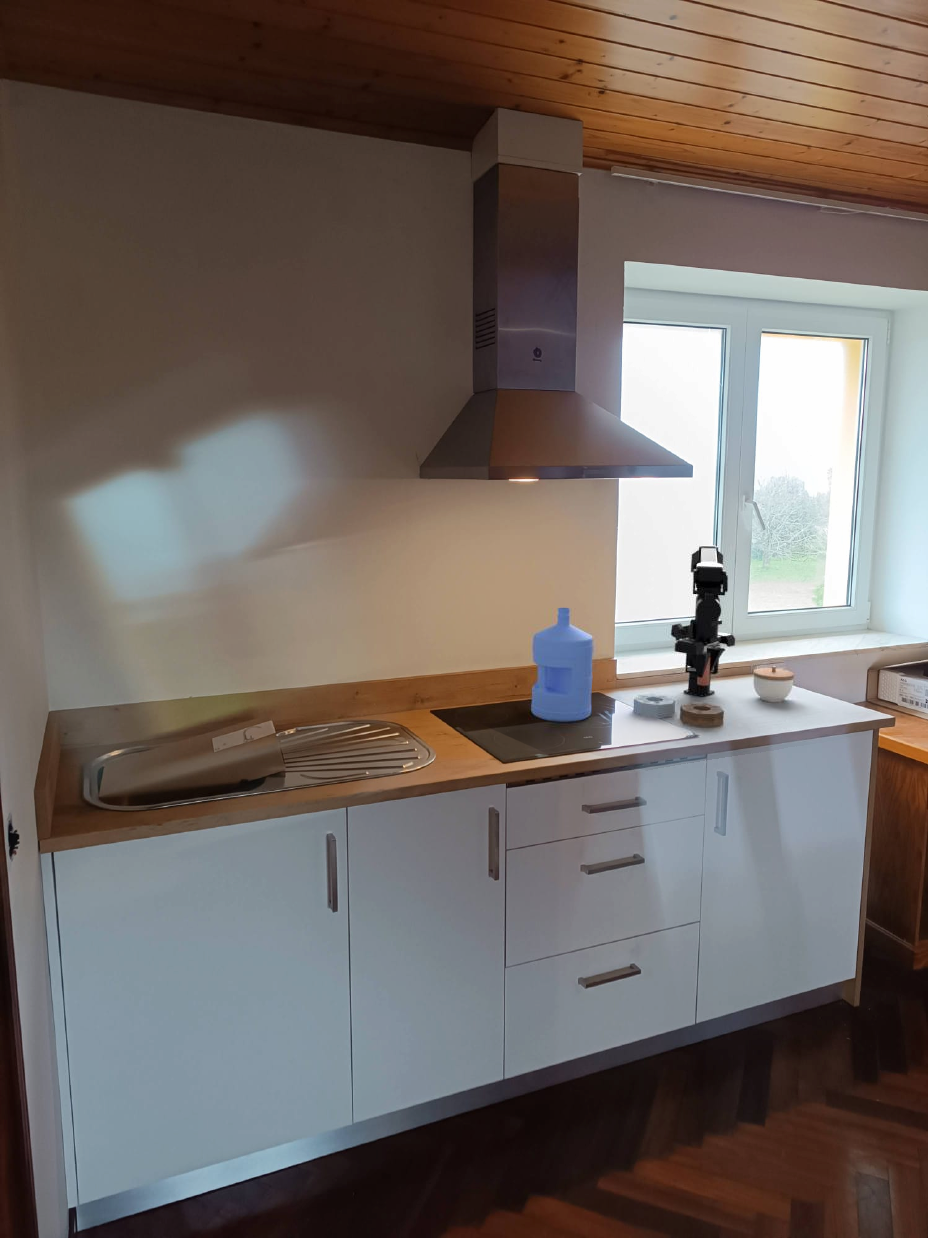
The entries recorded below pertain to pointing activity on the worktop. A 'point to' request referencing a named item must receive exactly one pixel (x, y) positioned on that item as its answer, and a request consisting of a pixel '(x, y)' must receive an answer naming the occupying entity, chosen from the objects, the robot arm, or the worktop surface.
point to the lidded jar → (772, 683)
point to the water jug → (562, 671)
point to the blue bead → (654, 705)
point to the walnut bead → (701, 715)
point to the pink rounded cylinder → (705, 676)
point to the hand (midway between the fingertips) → (703, 676)
